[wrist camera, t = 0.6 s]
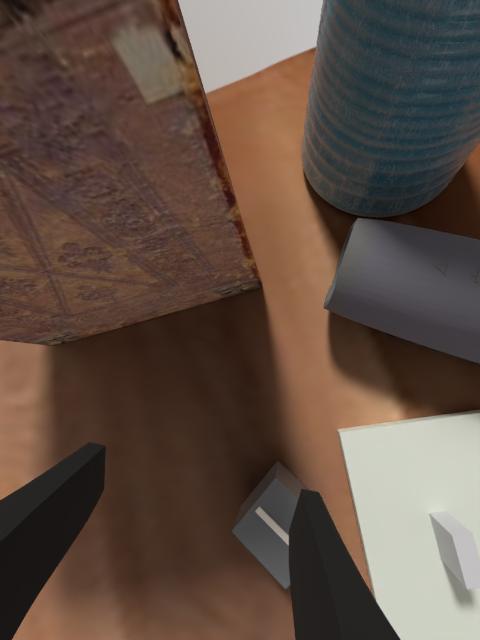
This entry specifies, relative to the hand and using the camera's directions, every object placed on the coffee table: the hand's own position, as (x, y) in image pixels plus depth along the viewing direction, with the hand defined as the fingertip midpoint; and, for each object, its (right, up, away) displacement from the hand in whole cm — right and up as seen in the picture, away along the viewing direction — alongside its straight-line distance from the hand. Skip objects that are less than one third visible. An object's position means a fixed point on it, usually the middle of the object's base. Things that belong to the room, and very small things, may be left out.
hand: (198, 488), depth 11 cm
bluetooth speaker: (+22, +6, +19) cm, 29 cm away
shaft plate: (+19, -12, +15) cm, 27 cm away
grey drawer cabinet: (+5, -12, +18) cm, 22 cm away
